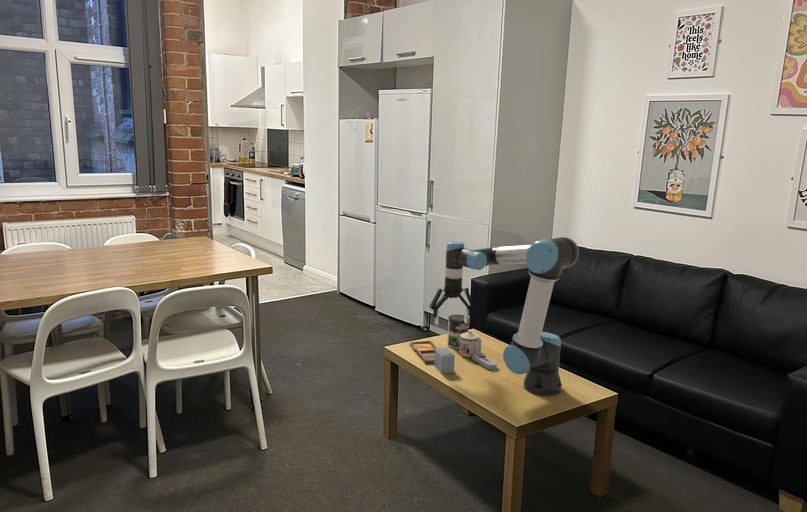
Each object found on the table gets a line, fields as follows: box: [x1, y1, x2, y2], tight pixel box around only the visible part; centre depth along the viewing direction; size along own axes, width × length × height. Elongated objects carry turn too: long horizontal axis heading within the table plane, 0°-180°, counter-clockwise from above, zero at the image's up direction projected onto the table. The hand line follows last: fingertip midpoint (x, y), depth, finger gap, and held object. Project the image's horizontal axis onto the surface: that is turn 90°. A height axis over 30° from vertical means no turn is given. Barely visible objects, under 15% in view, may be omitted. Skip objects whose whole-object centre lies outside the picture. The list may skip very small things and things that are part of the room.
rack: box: [409, 340, 438, 365], centre depth 265 cm, size 24×11×2 cm, turn 16°
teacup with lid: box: [459, 329, 480, 358], centre depth 263 cm, size 12×9×12 cm
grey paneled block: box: [433, 347, 456, 374], centre depth 247 cm, size 9×6×8 cm, turn 16°
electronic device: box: [471, 338, 498, 371], centre depth 254 cm, size 5×10×15 cm
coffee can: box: [446, 314, 470, 350], centre depth 276 cm, size 10×10×14 cm
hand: (451, 323), depth 250 cm, fingers open, 13 cm apart
